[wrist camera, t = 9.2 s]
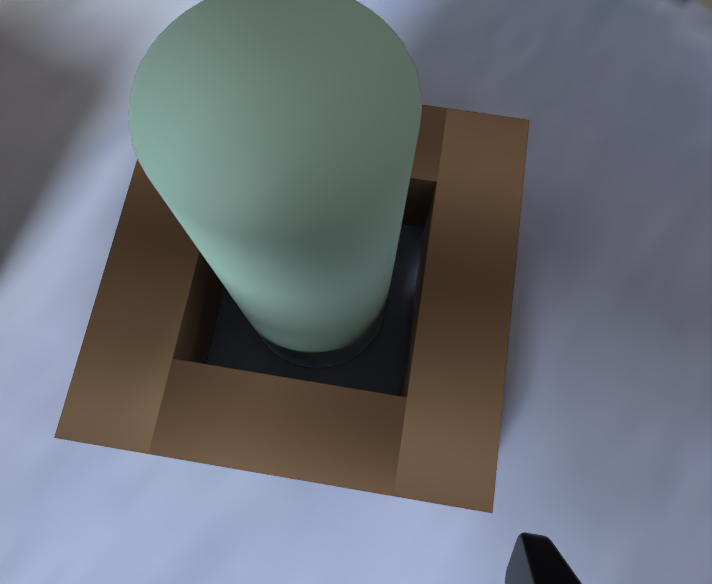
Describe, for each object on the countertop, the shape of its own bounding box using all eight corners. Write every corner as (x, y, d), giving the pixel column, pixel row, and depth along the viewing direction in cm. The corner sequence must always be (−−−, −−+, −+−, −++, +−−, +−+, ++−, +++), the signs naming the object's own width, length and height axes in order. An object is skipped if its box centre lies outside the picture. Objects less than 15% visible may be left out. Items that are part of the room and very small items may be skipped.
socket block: (467, 506, 16) (492, 513, 13) (106, 443, 17) (54, 437, 14) (503, 173, 19) (529, 119, 16) (192, 127, 19) (164, 67, 17)
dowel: (413, 316, 18) (481, 134, 8) (298, 395, 17) (225, 296, 7) (336, 213, 19) (316, -61, 9) (224, 283, 18) (77, 69, 8)
